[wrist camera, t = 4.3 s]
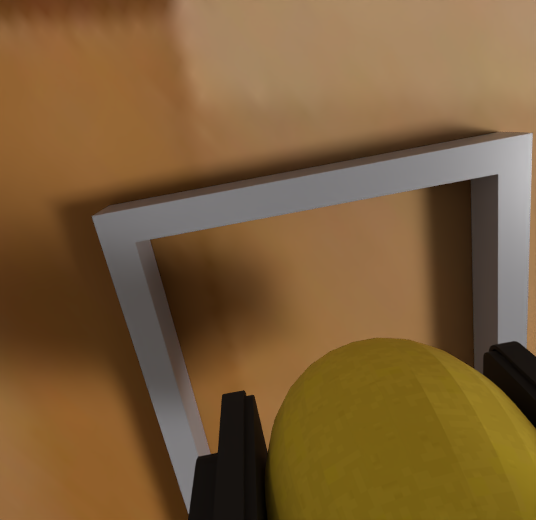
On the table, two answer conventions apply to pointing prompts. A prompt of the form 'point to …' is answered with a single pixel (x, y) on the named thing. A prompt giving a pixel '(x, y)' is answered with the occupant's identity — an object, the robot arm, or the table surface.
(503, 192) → the grey divided frame
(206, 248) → the table surface
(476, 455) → the lemon
